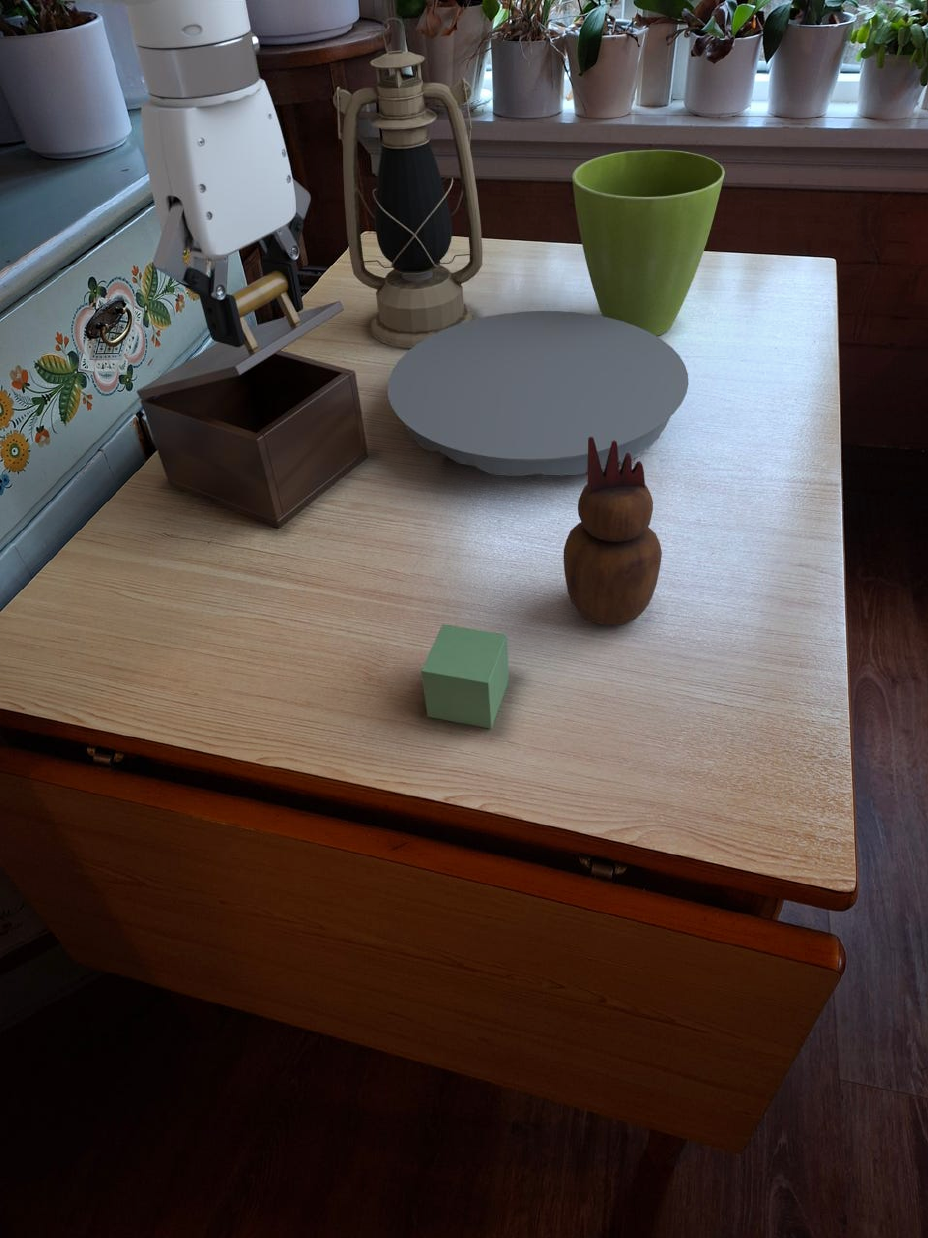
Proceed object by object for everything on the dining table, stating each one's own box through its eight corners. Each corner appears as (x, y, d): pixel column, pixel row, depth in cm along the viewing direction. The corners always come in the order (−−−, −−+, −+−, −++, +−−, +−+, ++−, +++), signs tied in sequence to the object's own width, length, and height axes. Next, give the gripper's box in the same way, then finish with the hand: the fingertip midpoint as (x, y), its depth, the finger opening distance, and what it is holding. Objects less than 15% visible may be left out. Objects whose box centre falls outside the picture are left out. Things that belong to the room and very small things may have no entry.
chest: (368, 456, 85) (355, 370, 79) (279, 528, 78) (256, 440, 72) (261, 421, 91) (241, 339, 85) (169, 485, 83) (139, 400, 77)
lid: (344, 309, 75) (317, 249, 73) (239, 376, 68) (205, 311, 65) (242, 338, 85) (215, 286, 82) (140, 399, 77) (108, 344, 75)
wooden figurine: (555, 628, 66) (557, 453, 56) (572, 578, 70) (576, 406, 60) (648, 643, 65) (667, 465, 55) (660, 591, 69) (679, 416, 59)
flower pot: (547, 340, 100) (547, 187, 89) (601, 287, 109) (607, 143, 98) (678, 365, 94) (695, 205, 83) (723, 307, 103) (744, 156, 92)
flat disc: (345, 476, 83) (337, 434, 80) (451, 338, 102) (448, 300, 98) (651, 525, 75) (655, 480, 72) (705, 365, 93) (710, 325, 90)
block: (427, 717, 61) (421, 670, 58) (447, 669, 64) (442, 623, 61) (491, 729, 60) (488, 683, 57) (509, 680, 63) (507, 634, 60)
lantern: (484, 298, 109) (470, -1, 88) (487, 343, 100) (473, 24, 80) (363, 306, 109) (321, 11, 89) (357, 352, 101) (309, 36, 80)
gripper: (249, 37, 67) (295, 276, 79) (59, 96, 57) (145, 360, 69) (326, 43, 64) (361, 292, 76) (140, 107, 54) (215, 382, 66)
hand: (258, 322), depth 73 cm, fingers closed on lid, 6 cm apart
